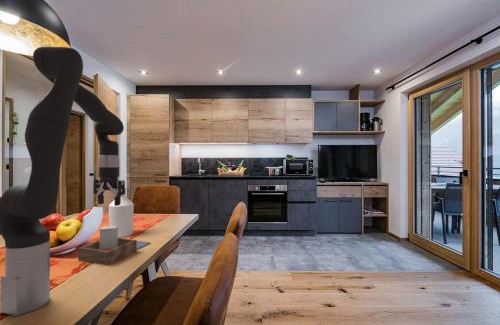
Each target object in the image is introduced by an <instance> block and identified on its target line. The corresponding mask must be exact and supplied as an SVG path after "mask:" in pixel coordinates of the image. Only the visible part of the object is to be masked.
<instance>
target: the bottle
mask: <svg viewBox="0 0 500 325" xmlns="http://www.w3.org/2000/svg"><path fill="white" fill-rule="evenodd" d="M121 192H122V189H121ZM126 193H127V187H125V194H124V195H121V203H120V205H118V206H115V199H114V200H112V201H111V203H109V205H108V226H118V238H125V237H130V236H131V235H133V234H134V213H135V212H134V208H135V204H134V203H135V202H134V203H133V201H132V200H130V199H129V198H128V197H127V196H126Z"/></svg>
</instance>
